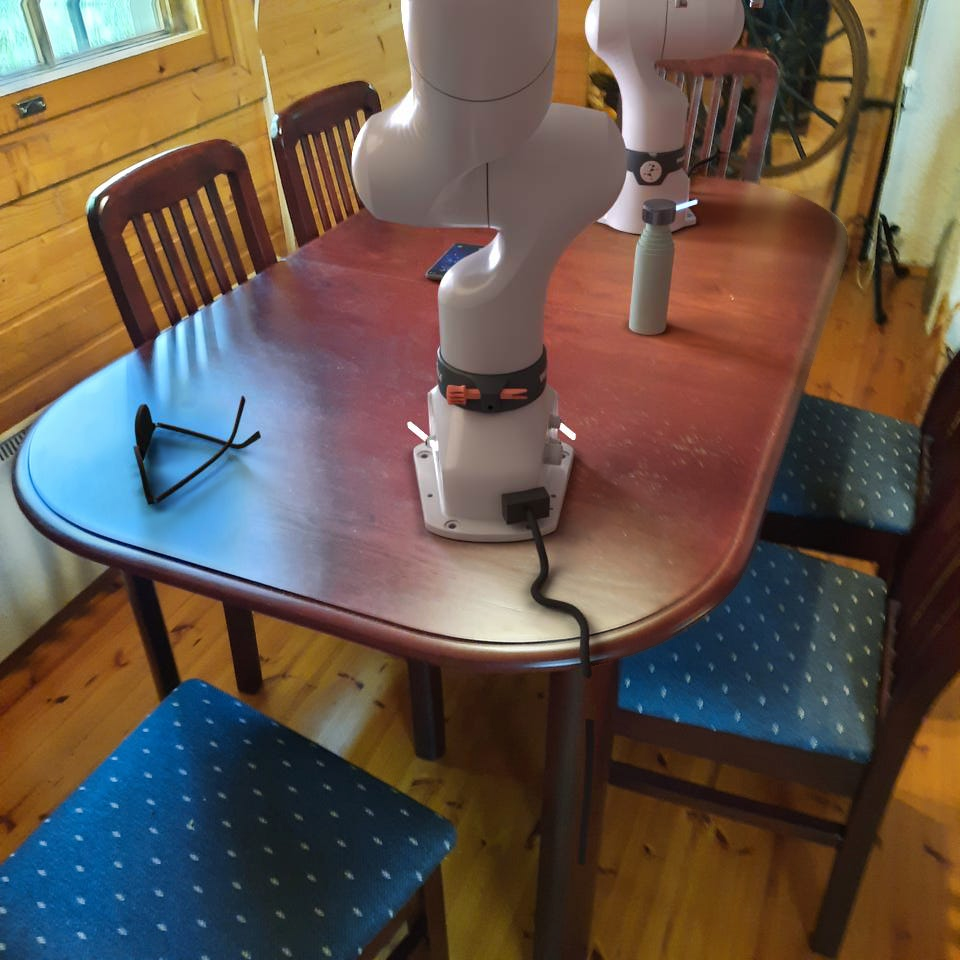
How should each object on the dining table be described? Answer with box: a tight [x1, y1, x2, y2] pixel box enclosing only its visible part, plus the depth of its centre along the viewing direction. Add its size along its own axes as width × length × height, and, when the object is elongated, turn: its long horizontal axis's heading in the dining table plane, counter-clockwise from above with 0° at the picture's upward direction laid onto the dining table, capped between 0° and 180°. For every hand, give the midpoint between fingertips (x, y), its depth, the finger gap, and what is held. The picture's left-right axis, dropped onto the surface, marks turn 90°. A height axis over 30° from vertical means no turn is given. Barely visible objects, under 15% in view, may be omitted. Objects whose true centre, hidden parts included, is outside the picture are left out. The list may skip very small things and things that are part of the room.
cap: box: [642, 199, 676, 225], centre depth 117 cm, size 4×4×2 cm
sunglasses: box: [132, 395, 262, 506], centre depth 100 cm, size 17×14×5 cm
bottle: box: [628, 223, 676, 336], centre depth 121 cm, size 5×5×18 cm
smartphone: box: [424, 242, 487, 282], centre depth 146 cm, size 7×1×15 cm
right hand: (718, 7), depth 110 cm, fingers open, 8 cm apart
